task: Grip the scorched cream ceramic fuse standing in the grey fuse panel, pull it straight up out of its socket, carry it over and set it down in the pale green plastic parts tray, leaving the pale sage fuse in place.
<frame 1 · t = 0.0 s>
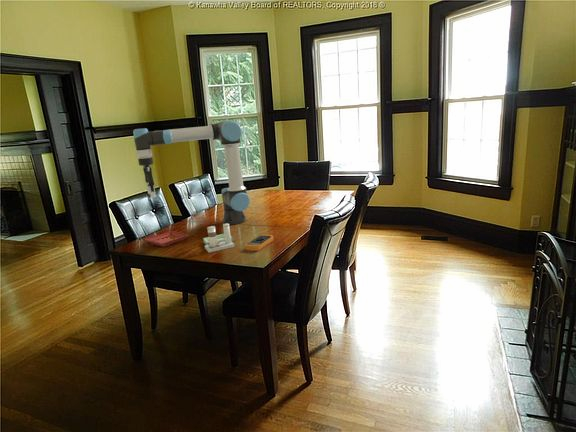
hand: (152, 195, 210), 28 cm above the table, fingers open, 13 cm apart
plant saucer: (167, 242, 219), on the table
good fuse: (228, 245, 202), resting on fuse panel
fuse panel: (219, 247, 200), on the table
parts tray: (218, 242, 209), on the table
multimeter: (260, 246, 198), on the table
blown fuse: (214, 248, 199), resting in fuse panel
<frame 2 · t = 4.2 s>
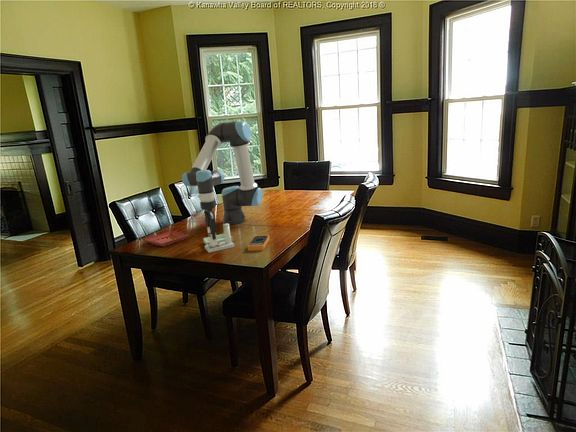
hand: (213, 243, 198), 3 cm above the table, fingers closed on blown fuse, 4 cm apart
blown fuse: (214, 248, 199), resting in fuse panel, touching gripper
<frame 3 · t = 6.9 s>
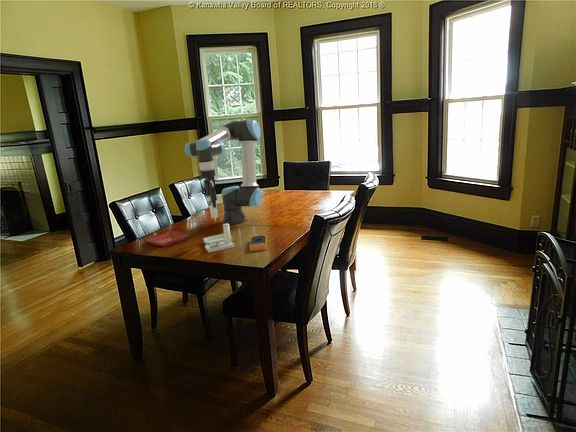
hand: (214, 212, 203), 18 cm above the table, fingers closed on blown fuse, 4 cm apart
blown fuse: (214, 217, 204), point 15 cm above the table, touching gripper
when the fingers open (5 cm above the table, at t = 9.9 s): blown fuse drops 1 cm, resting on parts tray.
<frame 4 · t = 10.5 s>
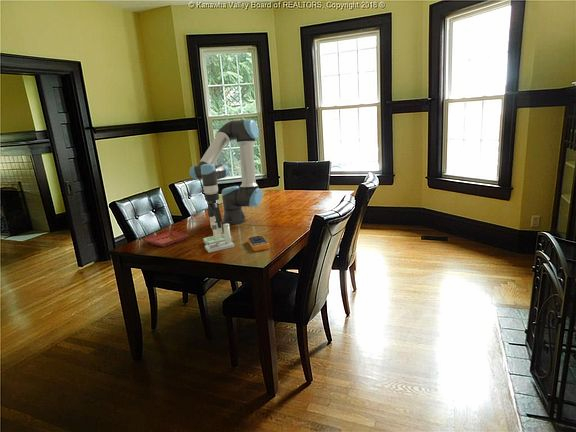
hand: (216, 230, 208), 7 cm above the table, fingers open, 13 cm apart
blown fuse: (218, 240, 209), point 1 cm above the table, touching parts tray
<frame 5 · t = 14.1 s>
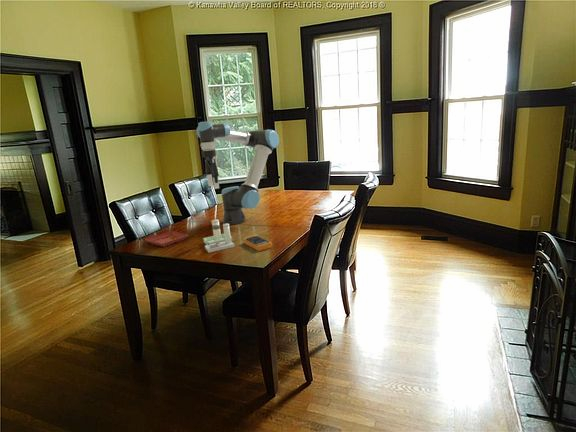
hand: (213, 187, 216), 29 cm above the table, fingers open, 13 cm apart
at the end: blown fuse inside the target area on the parts tray (0.0 cm from its centre), point 0.6 cm above the parts tray's base; the gripper is holding nothing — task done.
